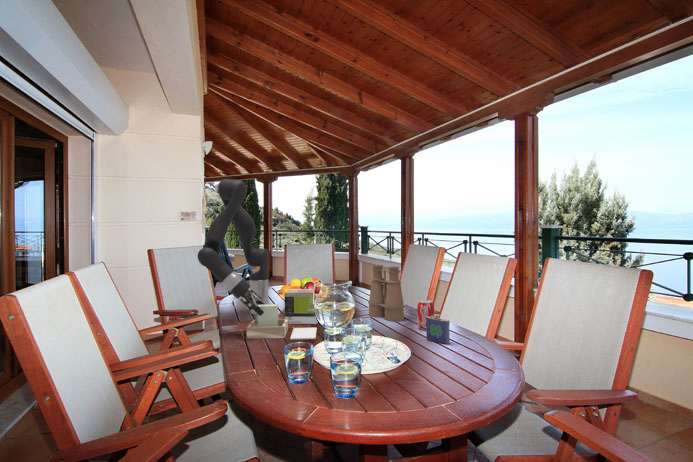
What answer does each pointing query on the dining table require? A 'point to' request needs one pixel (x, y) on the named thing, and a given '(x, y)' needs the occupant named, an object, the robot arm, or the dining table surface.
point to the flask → (438, 330)
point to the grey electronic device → (299, 306)
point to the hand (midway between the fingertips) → (264, 311)
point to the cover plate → (268, 315)
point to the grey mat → (304, 333)
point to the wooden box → (267, 330)
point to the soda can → (424, 313)
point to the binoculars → (386, 294)
